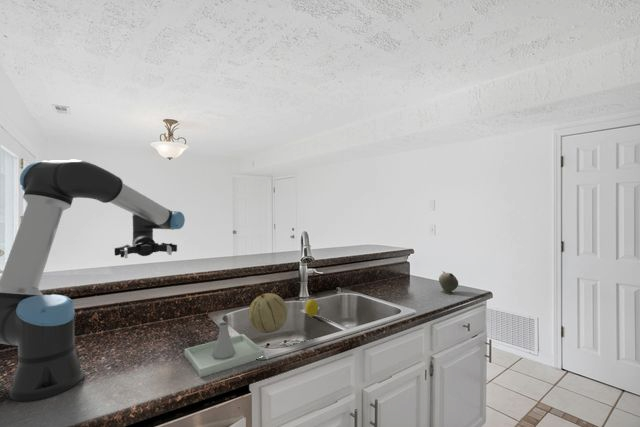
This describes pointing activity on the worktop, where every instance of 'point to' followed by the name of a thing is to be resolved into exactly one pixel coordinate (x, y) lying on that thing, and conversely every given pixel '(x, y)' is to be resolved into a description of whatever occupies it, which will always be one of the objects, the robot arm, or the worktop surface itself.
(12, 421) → the worktop surface
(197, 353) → the tray
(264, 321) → the cantaloupe
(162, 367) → the worktop surface
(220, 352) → the flask
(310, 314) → the lemon
